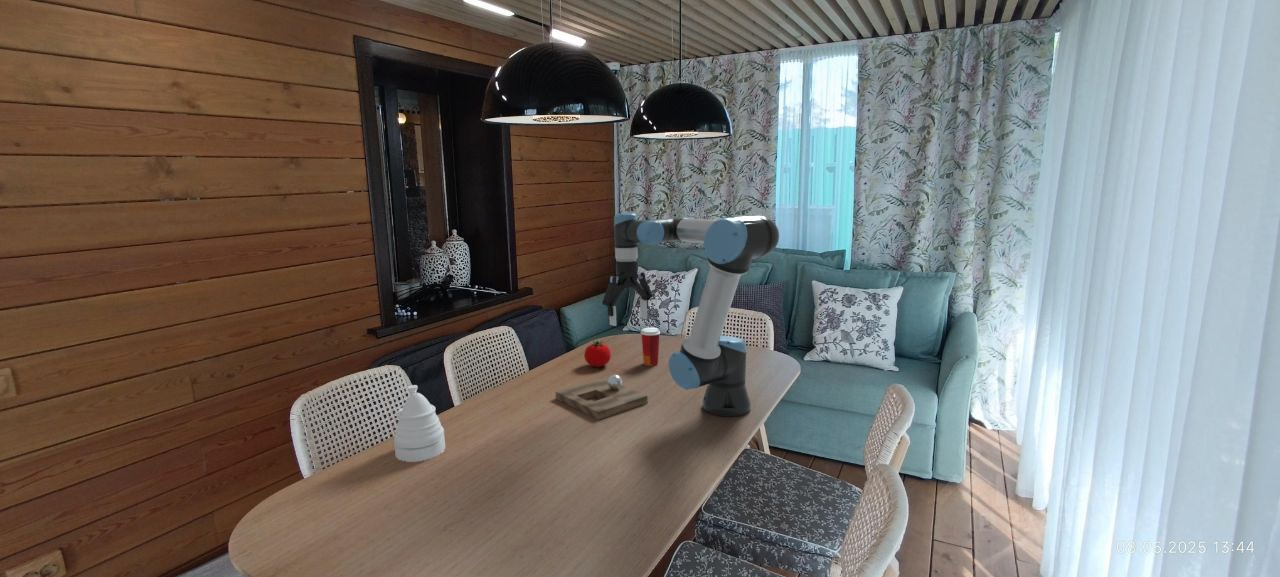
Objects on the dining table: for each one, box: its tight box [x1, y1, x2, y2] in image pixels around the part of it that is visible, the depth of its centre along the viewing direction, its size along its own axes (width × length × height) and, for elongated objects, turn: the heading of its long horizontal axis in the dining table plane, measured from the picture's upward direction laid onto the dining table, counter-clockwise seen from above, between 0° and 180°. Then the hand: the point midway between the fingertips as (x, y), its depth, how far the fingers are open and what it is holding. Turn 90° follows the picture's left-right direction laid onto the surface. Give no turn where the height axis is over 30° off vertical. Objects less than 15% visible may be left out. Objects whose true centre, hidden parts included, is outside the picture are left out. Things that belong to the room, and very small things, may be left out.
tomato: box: [583, 340, 612, 368], centre depth 230 cm, size 10×10×10 cm
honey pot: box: [393, 384, 446, 463], centre depth 159 cm, size 13×13×18 cm
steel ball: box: [607, 374, 623, 390], centre depth 198 cm, size 5×5×5 cm
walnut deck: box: [555, 377, 648, 421], centre depth 195 cm, size 24×20×2 cm
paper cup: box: [639, 327, 661, 367], centre depth 231 cm, size 8×8×14 cm
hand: (628, 321), depth 200 cm, fingers open, 13 cm apart
